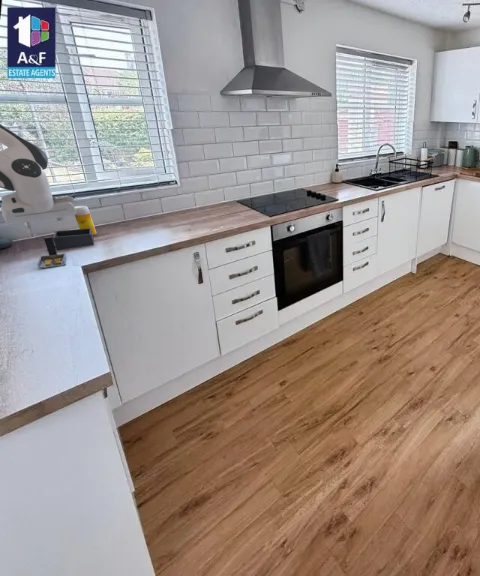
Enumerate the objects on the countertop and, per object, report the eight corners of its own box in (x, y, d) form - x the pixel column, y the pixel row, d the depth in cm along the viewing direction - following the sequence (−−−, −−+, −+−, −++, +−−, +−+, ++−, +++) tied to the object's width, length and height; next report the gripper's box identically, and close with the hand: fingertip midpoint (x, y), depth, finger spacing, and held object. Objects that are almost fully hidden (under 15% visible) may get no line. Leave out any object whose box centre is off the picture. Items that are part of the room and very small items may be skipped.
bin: (57, 252, 162) (53, 237, 159) (59, 244, 171) (55, 231, 169) (94, 248, 169) (91, 234, 167) (94, 241, 179) (90, 228, 176)
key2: (61, 263, 148) (61, 261, 148) (53, 264, 146) (53, 262, 146) (62, 259, 152) (61, 257, 152) (54, 259, 151) (54, 258, 151)
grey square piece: (65, 265, 147) (58, 242, 143) (39, 268, 142) (31, 245, 139) (67, 256, 156) (60, 235, 153) (42, 259, 152) (35, 237, 149)
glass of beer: (80, 236, 186) (70, 207, 179) (94, 233, 190) (84, 204, 183) (85, 239, 183) (74, 209, 176) (99, 235, 187) (89, 206, 180)
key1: (51, 264, 146) (51, 263, 145) (43, 265, 144) (43, 264, 144) (52, 260, 150) (52, 259, 150) (44, 261, 149) (44, 260, 149)
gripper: (69, 189, 138) (75, 213, 148) (-6, 197, 124) (5, 223, 134) (76, 201, 136) (81, 225, 146) (1, 211, 123) (12, 236, 133)
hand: (44, 224), depth 140 cm, fingers open, 8 cm apart
